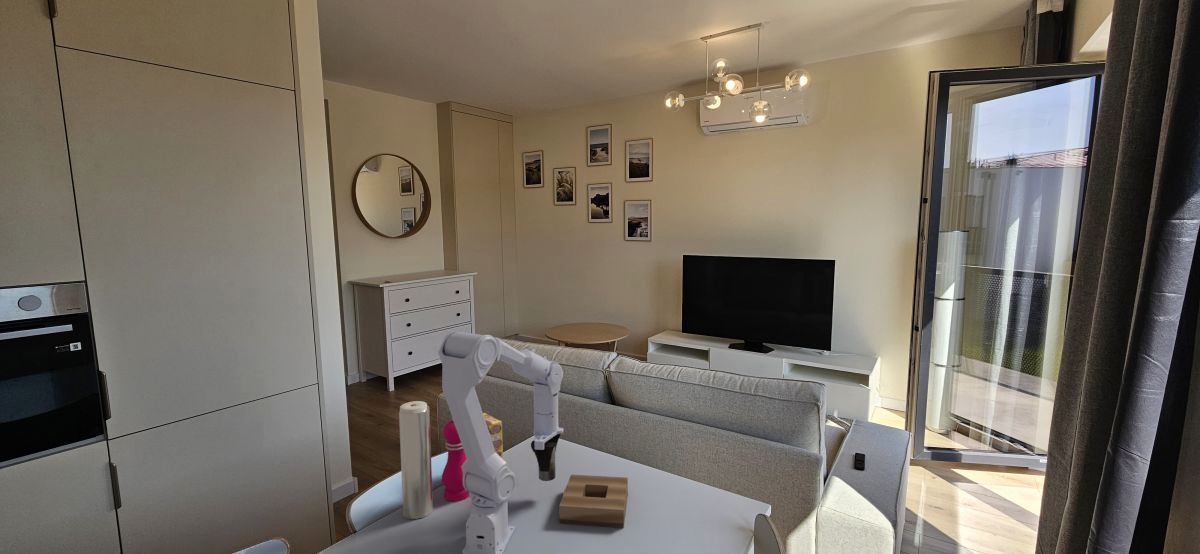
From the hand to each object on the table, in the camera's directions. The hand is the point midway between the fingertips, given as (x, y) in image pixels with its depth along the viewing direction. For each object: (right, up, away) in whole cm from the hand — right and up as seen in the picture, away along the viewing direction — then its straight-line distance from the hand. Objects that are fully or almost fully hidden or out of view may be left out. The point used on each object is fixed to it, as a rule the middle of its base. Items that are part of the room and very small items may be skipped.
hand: (546, 466), depth 114 cm
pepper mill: (-22, -8, +2) cm, 23 cm away
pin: (0, -3, 0) cm, 3 cm away
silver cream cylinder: (-29, -9, -5) cm, 30 cm away
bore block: (+12, -8, -4) cm, 15 cm away
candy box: (-17, -7, +12) cm, 22 cm away
